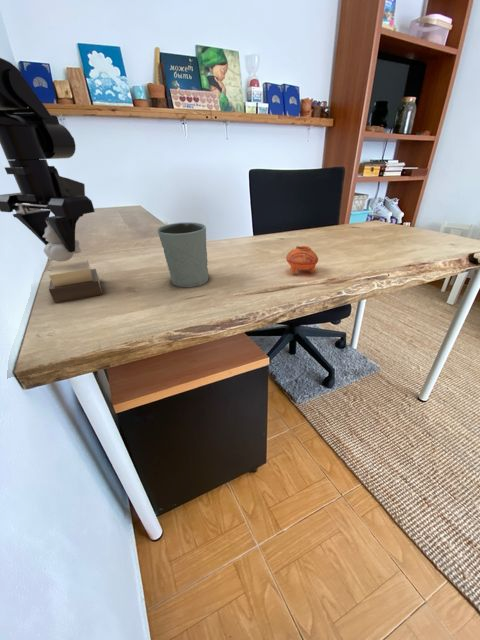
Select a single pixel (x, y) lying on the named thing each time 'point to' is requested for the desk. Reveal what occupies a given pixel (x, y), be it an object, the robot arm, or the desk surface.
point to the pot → (302, 259)
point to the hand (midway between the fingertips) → (62, 250)
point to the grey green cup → (185, 253)
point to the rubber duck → (57, 246)
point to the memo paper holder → (73, 281)
